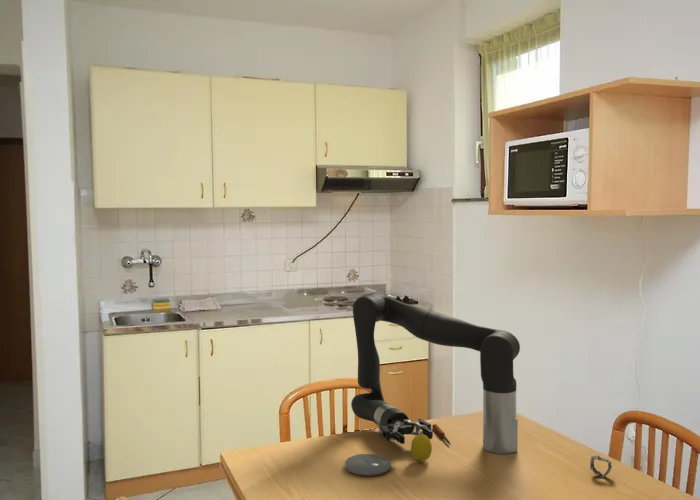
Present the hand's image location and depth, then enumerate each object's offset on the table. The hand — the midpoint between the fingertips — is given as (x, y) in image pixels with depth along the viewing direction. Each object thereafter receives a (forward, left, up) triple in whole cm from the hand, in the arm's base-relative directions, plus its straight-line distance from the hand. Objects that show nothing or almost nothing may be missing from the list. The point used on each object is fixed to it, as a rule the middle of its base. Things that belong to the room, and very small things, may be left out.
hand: (417, 437), depth 170 cm
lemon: (-1, +2, -6) cm, 7 cm away
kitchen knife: (-7, -17, -7) cm, 20 cm away
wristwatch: (-46, +7, -6) cm, 47 cm away
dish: (+13, +7, -6) cm, 16 cm away
